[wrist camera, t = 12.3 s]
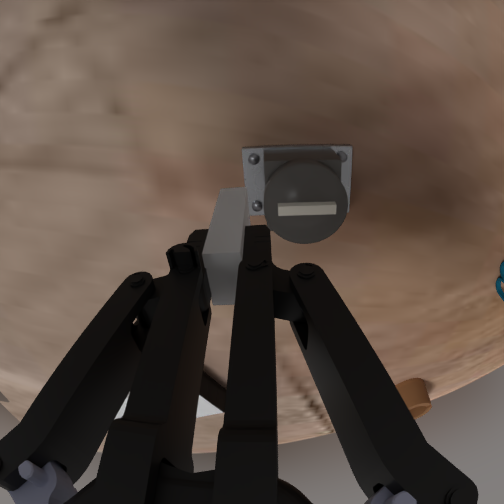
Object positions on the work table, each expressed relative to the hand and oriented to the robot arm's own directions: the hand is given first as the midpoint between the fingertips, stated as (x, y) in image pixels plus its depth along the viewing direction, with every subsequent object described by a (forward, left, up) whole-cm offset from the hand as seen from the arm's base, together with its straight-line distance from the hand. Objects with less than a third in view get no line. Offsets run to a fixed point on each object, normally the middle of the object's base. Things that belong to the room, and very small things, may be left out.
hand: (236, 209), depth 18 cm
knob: (+4, +5, -16) cm, 18 cm away
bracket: (+55, +28, -18) cm, 64 cm away
